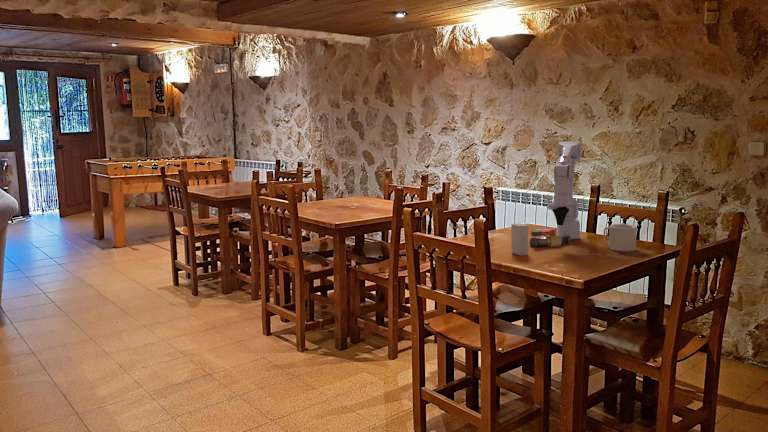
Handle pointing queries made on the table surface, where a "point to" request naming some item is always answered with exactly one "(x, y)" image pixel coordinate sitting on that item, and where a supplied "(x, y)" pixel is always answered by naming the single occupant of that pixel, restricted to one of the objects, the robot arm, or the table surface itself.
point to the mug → (621, 237)
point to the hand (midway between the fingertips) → (560, 225)
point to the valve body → (554, 240)
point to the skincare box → (519, 239)
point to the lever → (543, 232)
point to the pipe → (544, 241)
